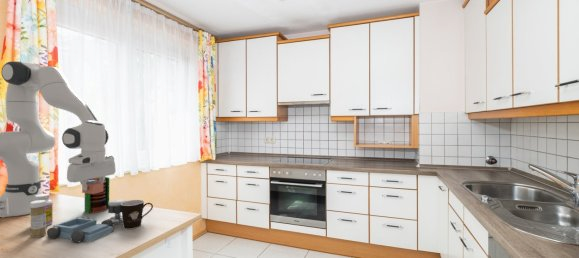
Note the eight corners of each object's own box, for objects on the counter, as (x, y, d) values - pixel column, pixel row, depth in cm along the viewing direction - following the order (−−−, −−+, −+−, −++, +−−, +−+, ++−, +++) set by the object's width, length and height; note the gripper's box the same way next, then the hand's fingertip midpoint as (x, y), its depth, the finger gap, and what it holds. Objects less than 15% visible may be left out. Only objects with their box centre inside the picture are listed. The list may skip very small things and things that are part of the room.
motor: (94, 214, 133) (94, 172, 132) (79, 212, 134) (78, 171, 134) (112, 207, 143) (112, 168, 142) (97, 206, 144) (97, 168, 144)
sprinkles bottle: (36, 233, 109) (36, 199, 109) (49, 233, 110) (49, 199, 109) (27, 238, 105) (26, 203, 104) (40, 238, 105) (39, 202, 105)
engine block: (82, 192, 122) (82, 181, 122) (92, 190, 127) (93, 179, 126) (92, 194, 120) (93, 182, 120) (103, 191, 125) (103, 180, 125)
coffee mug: (117, 230, 113) (117, 206, 113) (124, 223, 122) (124, 200, 121) (149, 228, 116) (149, 204, 116) (153, 220, 125) (153, 198, 124)
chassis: (43, 237, 106) (42, 227, 106) (79, 224, 119) (79, 215, 119) (83, 244, 101) (83, 233, 101) (116, 229, 114) (116, 220, 114)
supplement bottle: (39, 228, 114) (39, 197, 114) (27, 227, 116) (27, 196, 115) (56, 223, 121) (56, 193, 120) (44, 221, 122) (44, 192, 122)
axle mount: (106, 223, 121) (106, 212, 120) (118, 219, 126) (118, 208, 126) (117, 225, 119) (117, 214, 119) (128, 220, 125) (128, 210, 125)
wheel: (104, 212, 120) (104, 203, 120) (118, 207, 127) (118, 199, 127) (117, 214, 118) (117, 204, 118) (130, 209, 125) (130, 200, 125)
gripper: (108, 154, 134) (108, 182, 134) (64, 159, 114) (64, 193, 114) (119, 155, 132) (118, 183, 133) (76, 160, 112) (75, 194, 113)
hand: (93, 188), depth 123 cm, fingers closed on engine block, 5 cm apart
